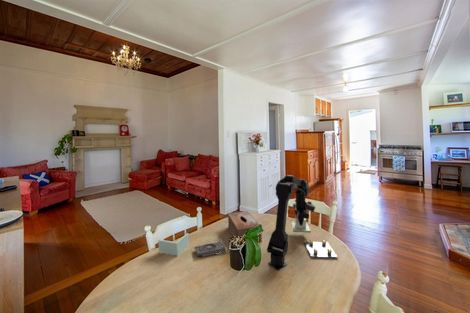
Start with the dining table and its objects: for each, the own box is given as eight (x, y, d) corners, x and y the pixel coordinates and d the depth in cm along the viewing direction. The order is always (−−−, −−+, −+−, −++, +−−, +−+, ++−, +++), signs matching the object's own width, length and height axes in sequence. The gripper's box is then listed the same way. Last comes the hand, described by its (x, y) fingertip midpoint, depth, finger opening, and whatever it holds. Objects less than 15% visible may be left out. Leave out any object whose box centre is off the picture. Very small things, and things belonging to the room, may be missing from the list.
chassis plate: (337, 258, 108) (337, 253, 108) (311, 258, 109) (311, 252, 109) (327, 243, 123) (327, 238, 123) (304, 243, 124) (304, 238, 124)
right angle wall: (189, 245, 126) (188, 233, 126) (177, 256, 115) (176, 243, 114) (172, 242, 130) (171, 230, 130) (159, 253, 119) (158, 240, 118)
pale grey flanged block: (310, 232, 126) (310, 222, 125) (293, 232, 128) (293, 222, 127) (306, 224, 138) (306, 215, 137) (291, 223, 139) (291, 214, 139)
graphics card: (221, 237, 128) (227, 246, 117) (222, 243, 129) (227, 253, 117) (193, 243, 123) (196, 253, 112) (194, 249, 123) (197, 260, 112)
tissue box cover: (261, 241, 128) (261, 225, 127) (238, 245, 124) (237, 229, 123) (248, 224, 153) (247, 211, 152) (228, 227, 149) (228, 213, 148)
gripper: (318, 204, 121) (318, 230, 122) (310, 194, 139) (309, 218, 141) (298, 204, 122) (298, 230, 123) (292, 195, 140) (292, 217, 142)
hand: (300, 223), depth 132 cm, fingers closed on pale grey flanged block, 4 cm apart
